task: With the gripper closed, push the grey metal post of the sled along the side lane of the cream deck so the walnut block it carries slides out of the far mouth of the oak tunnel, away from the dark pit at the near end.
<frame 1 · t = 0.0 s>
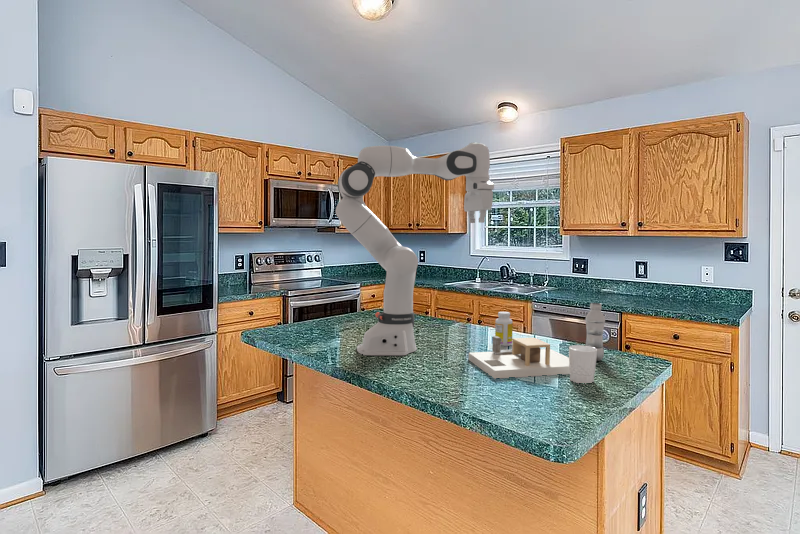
hand: (476, 222, 183), 48 cm above the countertop, tool pointing down, fingers open, 8 cm apart
sled: (515, 348, 160), point 5 cm above the countertop, slide at 0.0 cm
supplement bottle: (503, 345, 189), on the countertop
white cup: (581, 381, 143), on the countertop
plastic bottle: (593, 360, 167), on the countertop
deck: (524, 368, 155), on the countertop
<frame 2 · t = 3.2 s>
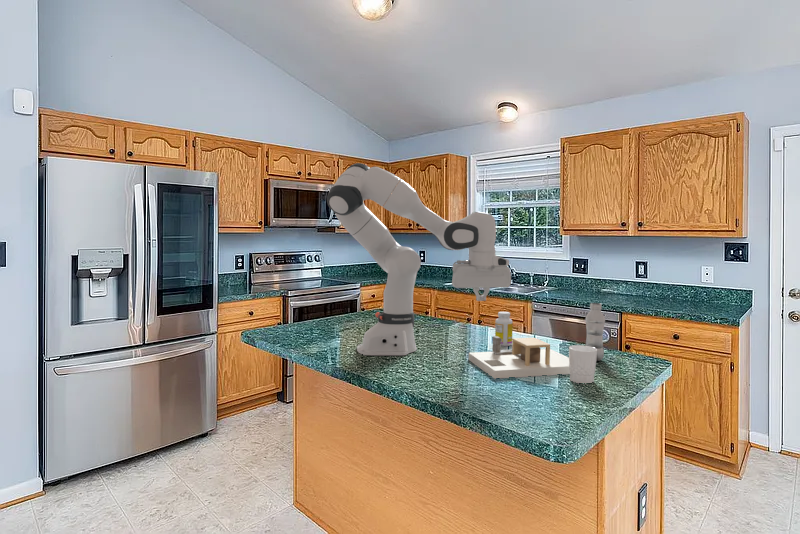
hand: (481, 300, 162), 21 cm above the countertop, tool pointing down, fingers closed
nothing on the countertop moved.
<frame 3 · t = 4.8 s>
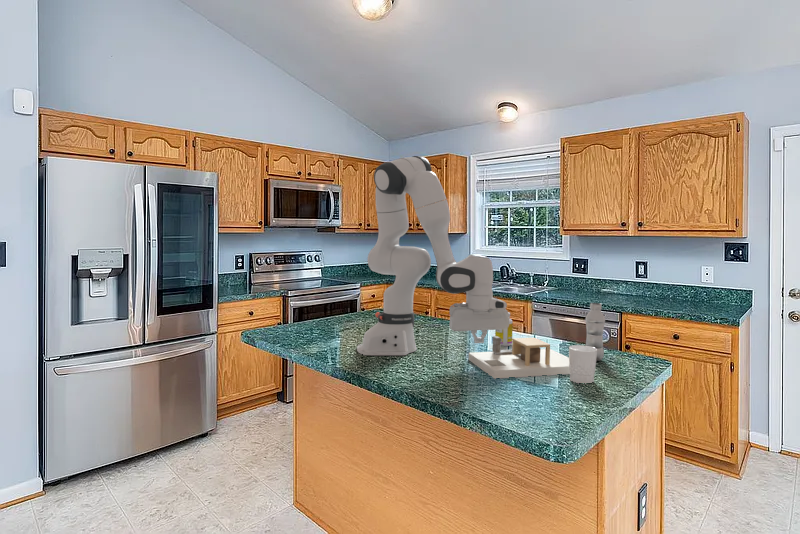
hand: (478, 342, 162), 7 cm above the countertop, tool pointing down, fingers closed
nothing on the countertop moved.
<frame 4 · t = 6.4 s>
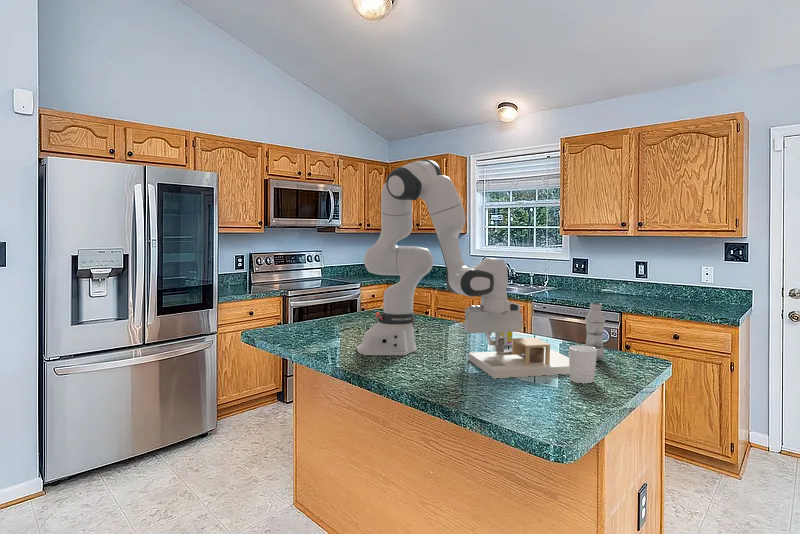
hand: (493, 345, 164), 6 cm above the countertop, tool pointing down, fingers closed
sled: (519, 348, 160), point 5 cm above the countertop, slide at 1.4 cm, touching gripper
everything else where it was.
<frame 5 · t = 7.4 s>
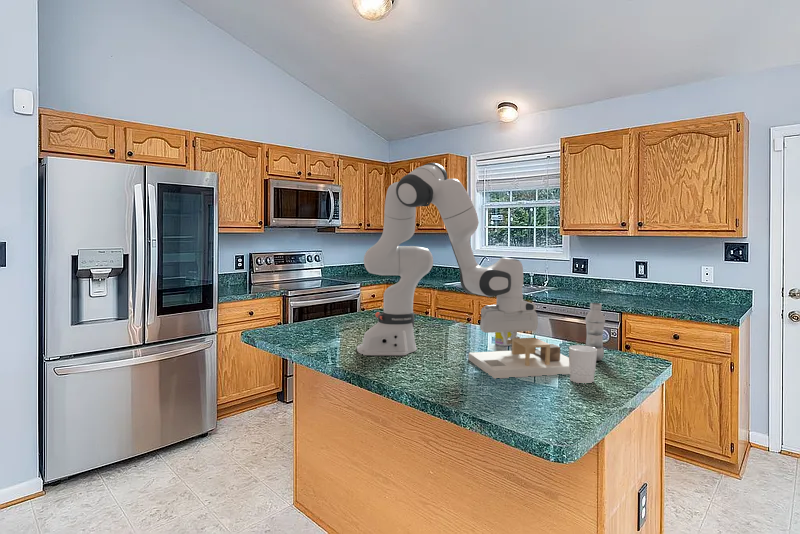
hand: (508, 344, 165), 6 cm above the countertop, tool pointing down, fingers closed
sled: (534, 347, 161), point 5 cm above the countertop, slide at 7.1 cm, touching gripper
everything else where it was.
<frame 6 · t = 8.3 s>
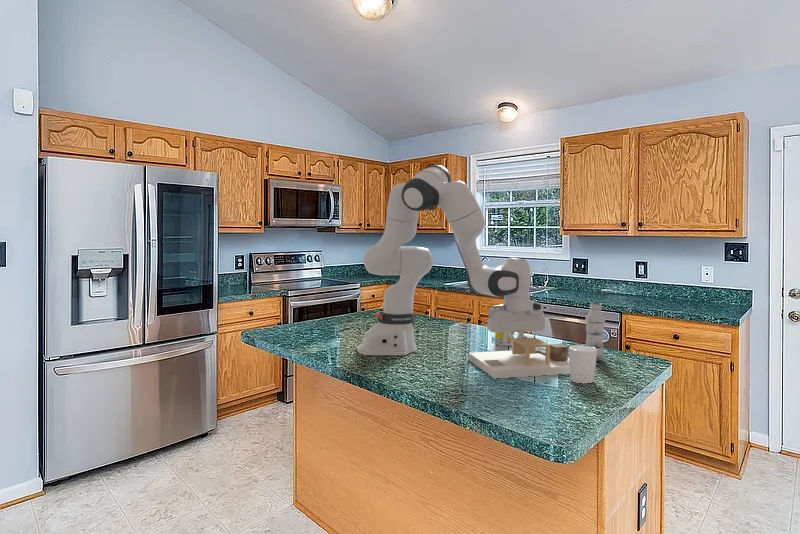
hand: (515, 343, 166), 6 cm above the countertop, tool pointing down, fingers closed
sled: (542, 347, 162), point 5 cm above the countertop, slide at 10.0 cm, touching gripper
everything else where it was.
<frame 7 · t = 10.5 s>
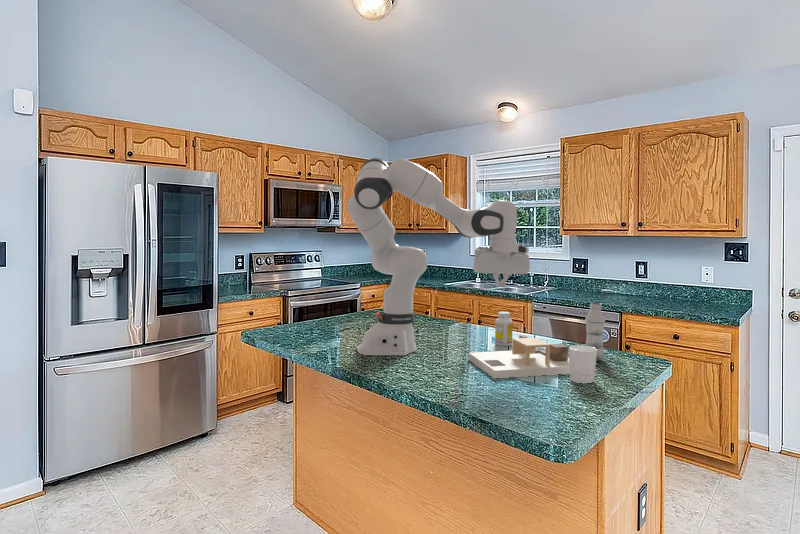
hand: (500, 286, 168), 25 cm above the countertop, tool pointing down, fingers closed
sled: (542, 347, 162), point 5 cm above the countertop, slide at 10.0 cm
everything else where it was.
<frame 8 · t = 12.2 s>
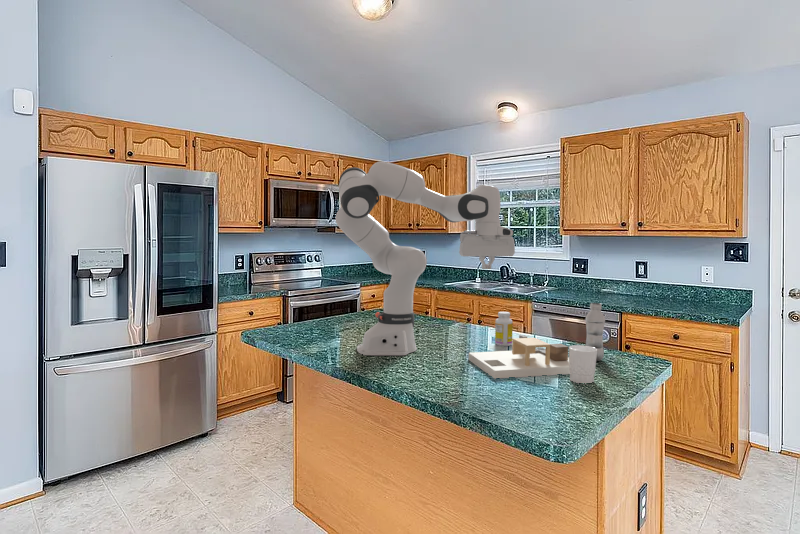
hand: (486, 269, 173), 31 cm above the countertop, tool pointing down, fingers closed
nothing on the countertop moved.
at the end: sled slide at 10.0 cm; sled 0.2 cm from the target spot, resting on deck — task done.
